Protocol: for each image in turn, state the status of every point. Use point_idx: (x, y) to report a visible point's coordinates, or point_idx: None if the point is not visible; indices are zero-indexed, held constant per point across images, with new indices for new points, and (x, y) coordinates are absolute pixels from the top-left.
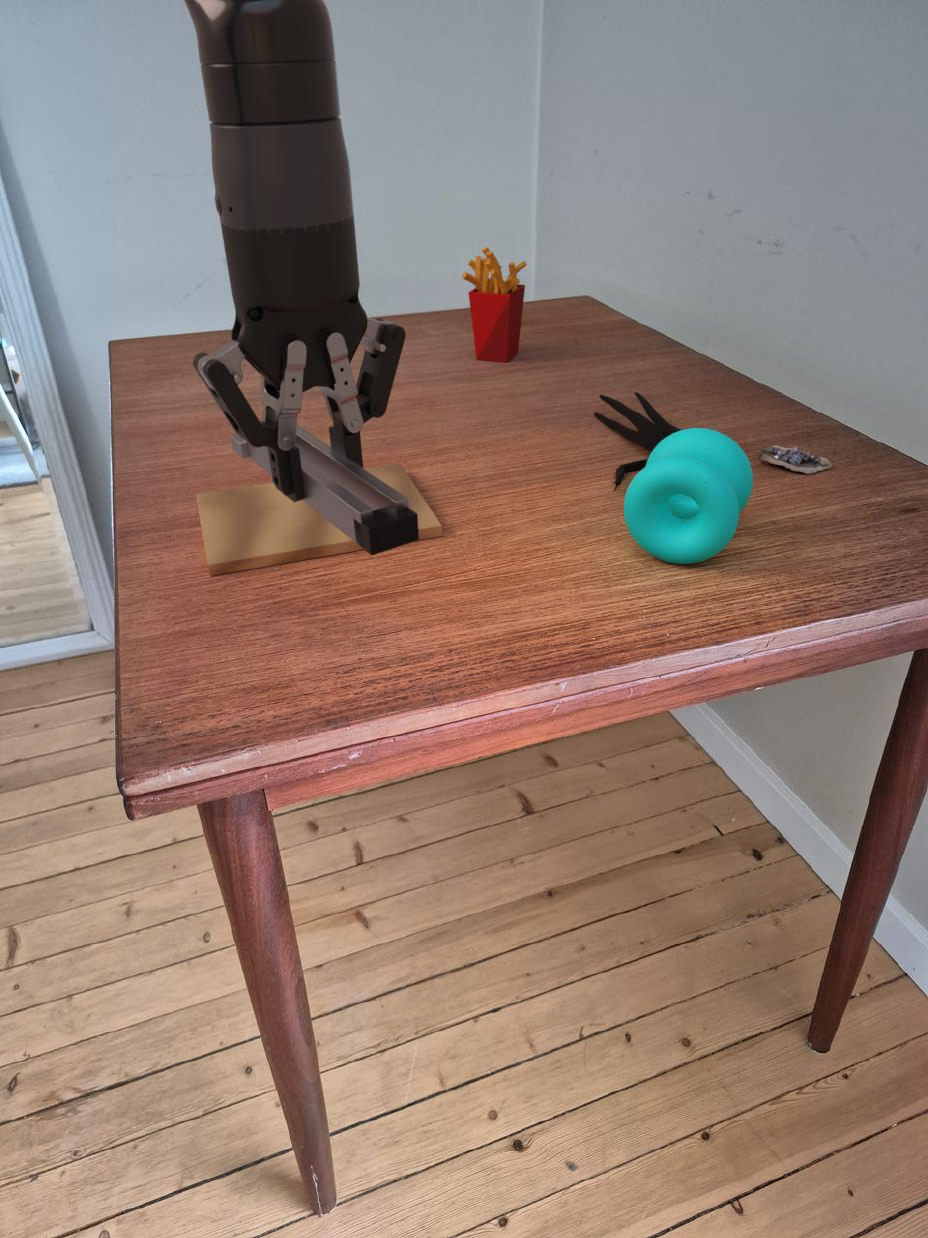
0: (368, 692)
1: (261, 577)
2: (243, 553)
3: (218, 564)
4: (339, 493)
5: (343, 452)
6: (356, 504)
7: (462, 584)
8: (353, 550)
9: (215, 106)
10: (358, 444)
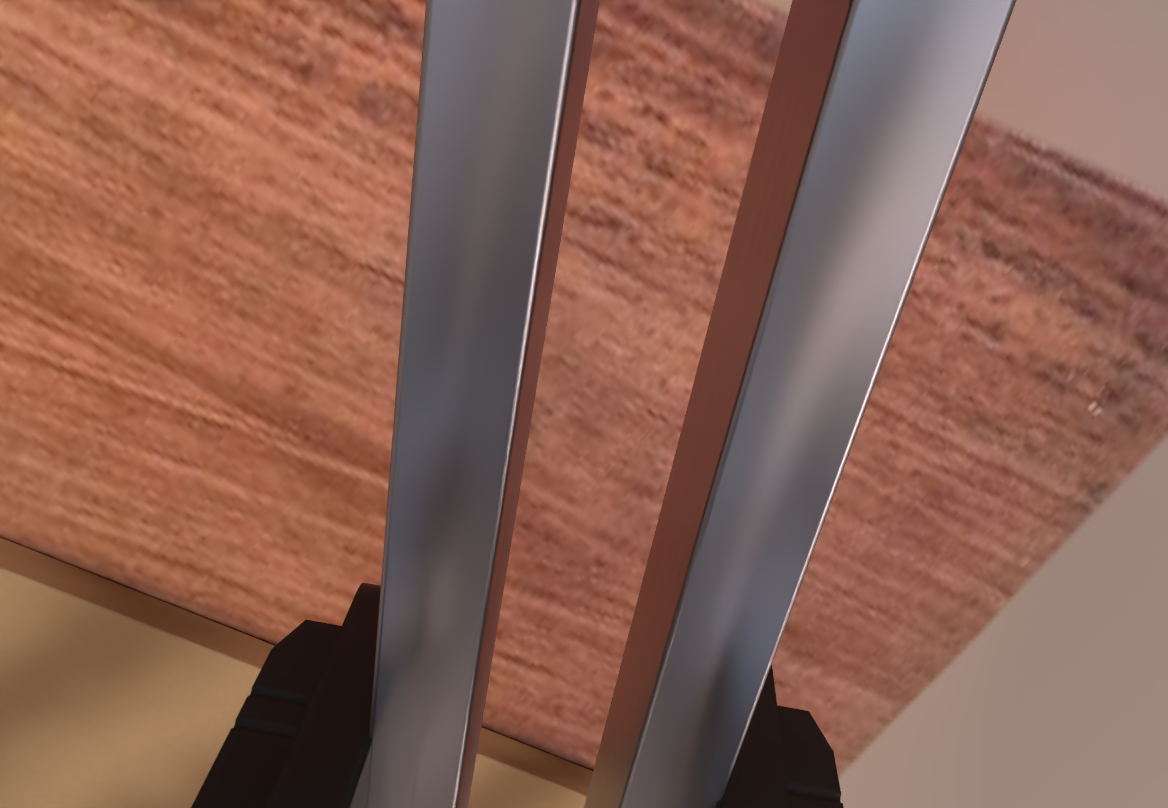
0: (631, 95)
1: (507, 696)
2: (500, 784)
3: (573, 788)
4: (852, 332)
5: (363, 782)
6: (936, 21)
7: (73, 315)
8: (248, 637)
9: None
10: (226, 785)
